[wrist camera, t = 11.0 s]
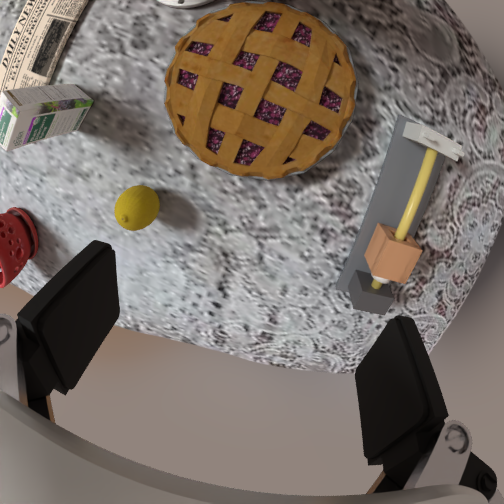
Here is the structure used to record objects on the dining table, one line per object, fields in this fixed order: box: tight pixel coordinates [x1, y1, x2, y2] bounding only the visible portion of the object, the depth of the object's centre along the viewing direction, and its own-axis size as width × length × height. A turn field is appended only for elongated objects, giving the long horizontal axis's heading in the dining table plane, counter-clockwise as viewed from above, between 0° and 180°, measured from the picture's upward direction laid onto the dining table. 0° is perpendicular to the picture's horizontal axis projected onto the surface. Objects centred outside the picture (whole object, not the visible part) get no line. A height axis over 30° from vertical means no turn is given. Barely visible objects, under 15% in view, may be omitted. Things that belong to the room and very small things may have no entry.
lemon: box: [115, 185, 160, 231], centre depth 35 cm, size 6×6×8 cm
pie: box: [164, 1, 359, 180], centre depth 28 cm, size 22×22×5 cm
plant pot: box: [0, 207, 38, 288], centre depth 39 cm, size 13×13×12 cm
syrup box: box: [0, 84, 94, 151], centre depth 26 cm, size 6×6×14 cm
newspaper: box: [0, 0, 89, 97], centre depth 24 cm, size 37×19×3 cm, turn 147°
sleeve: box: [364, 223, 422, 284], centre depth 33 cm, size 5×5×5 cm
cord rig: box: [336, 115, 464, 315], centre depth 32 cm, size 26×8×7 cm, turn 168°
